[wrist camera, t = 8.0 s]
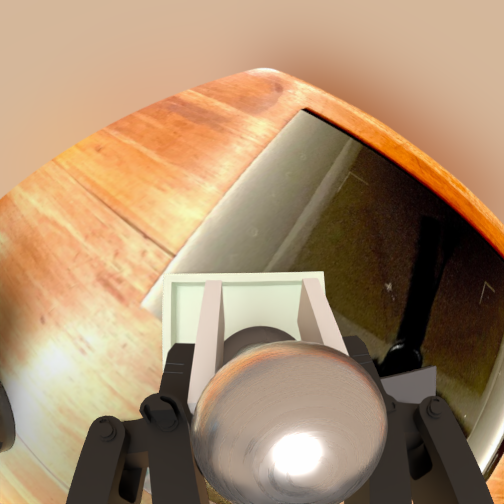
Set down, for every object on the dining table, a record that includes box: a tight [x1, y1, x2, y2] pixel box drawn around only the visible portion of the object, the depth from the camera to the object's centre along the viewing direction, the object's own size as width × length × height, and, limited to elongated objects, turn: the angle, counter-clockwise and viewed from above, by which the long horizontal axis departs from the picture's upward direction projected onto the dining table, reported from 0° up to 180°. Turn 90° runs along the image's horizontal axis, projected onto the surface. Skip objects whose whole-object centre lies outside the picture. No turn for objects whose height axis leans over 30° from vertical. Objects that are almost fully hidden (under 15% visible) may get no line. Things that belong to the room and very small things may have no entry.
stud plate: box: [380, 366, 436, 404], centre depth 23 cm, size 12×12×2 cm
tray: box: [162, 272, 325, 373], centre depth 25 cm, size 15×15×3 cm
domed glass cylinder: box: [191, 326, 387, 504], centre depth 10 cm, size 6×6×14 cm
